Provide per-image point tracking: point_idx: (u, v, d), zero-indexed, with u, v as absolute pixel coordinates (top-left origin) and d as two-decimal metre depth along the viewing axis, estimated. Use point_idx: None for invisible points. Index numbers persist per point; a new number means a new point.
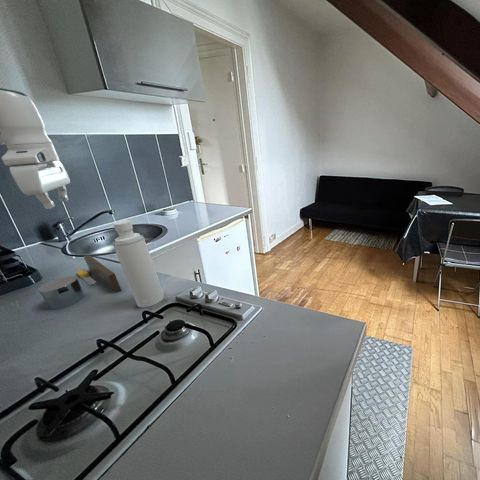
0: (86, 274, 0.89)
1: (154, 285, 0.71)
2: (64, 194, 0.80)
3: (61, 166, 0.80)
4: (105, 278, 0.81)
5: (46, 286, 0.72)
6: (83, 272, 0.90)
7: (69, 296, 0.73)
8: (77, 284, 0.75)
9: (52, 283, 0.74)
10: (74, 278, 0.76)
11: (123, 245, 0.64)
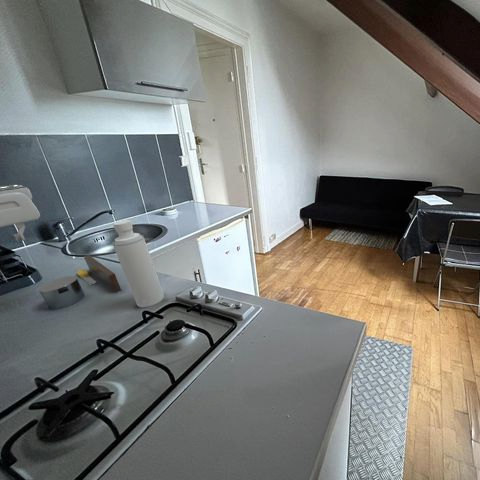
0: (86, 274, 0.89)
1: (154, 285, 0.71)
2: (18, 233, 0.66)
3: (18, 200, 0.65)
4: (105, 278, 0.81)
5: (46, 286, 0.72)
6: (83, 272, 0.90)
7: (69, 296, 0.73)
8: (77, 284, 0.75)
9: (52, 283, 0.74)
10: (74, 278, 0.76)
11: (123, 245, 0.64)
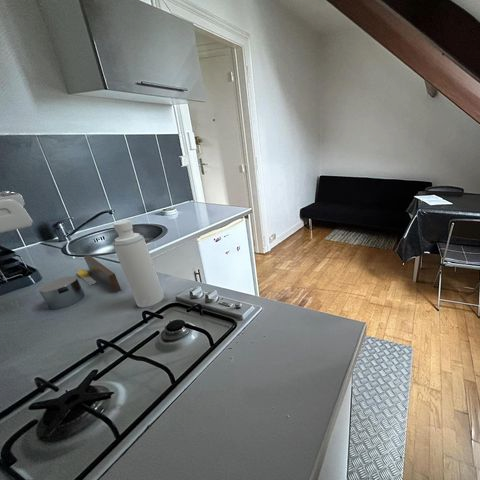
0: (86, 274, 0.89)
1: (154, 285, 0.71)
2: None
3: (10, 207, 0.63)
4: (105, 278, 0.81)
5: (46, 286, 0.72)
6: (83, 272, 0.90)
7: (69, 296, 0.73)
8: (77, 284, 0.75)
9: (52, 283, 0.74)
10: (74, 278, 0.76)
11: (123, 245, 0.64)
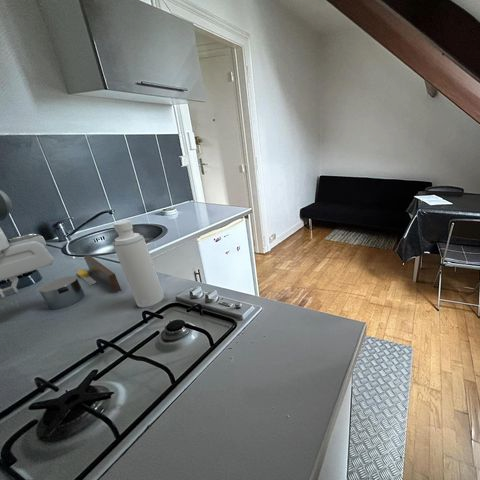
0: (86, 274, 0.89)
1: (154, 285, 0.71)
2: (11, 286, 0.66)
3: (33, 249, 0.67)
4: (105, 278, 0.81)
5: (46, 286, 0.72)
6: (83, 272, 0.90)
7: (69, 296, 0.73)
8: (77, 284, 0.75)
9: (52, 283, 0.74)
10: (74, 278, 0.76)
11: (123, 245, 0.64)
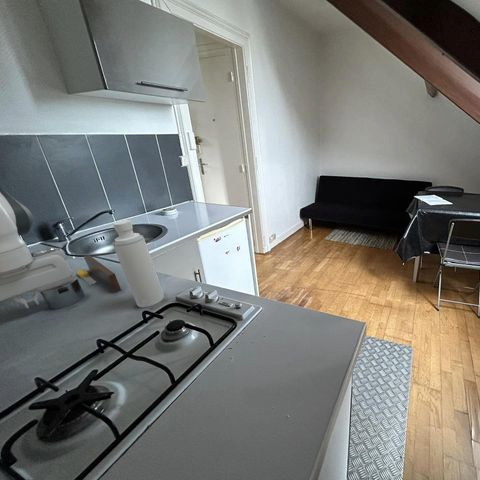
0: (86, 274, 0.89)
1: (154, 285, 0.71)
2: (33, 298, 0.70)
3: (55, 262, 0.71)
4: (105, 278, 0.81)
5: (46, 286, 0.72)
6: (83, 272, 0.90)
7: (69, 296, 0.73)
8: (77, 284, 0.75)
9: (52, 283, 0.74)
10: (74, 278, 0.76)
11: (123, 245, 0.64)
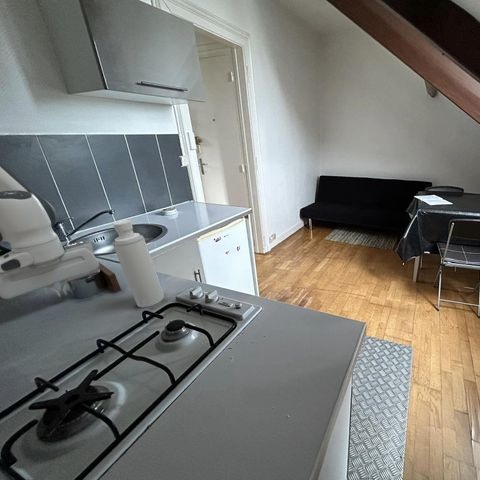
0: None
1: (154, 285, 0.71)
2: (62, 289, 0.74)
3: (83, 255, 0.75)
4: (105, 278, 0.81)
5: (73, 277, 0.76)
6: None
7: (95, 286, 0.78)
8: (101, 275, 0.80)
9: None
10: (98, 269, 0.80)
11: (123, 245, 0.64)
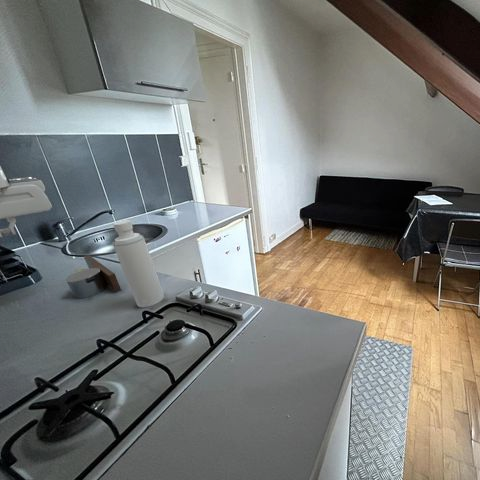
0: None
1: (154, 285, 0.71)
2: (9, 227, 0.67)
3: (32, 192, 0.68)
4: (105, 278, 0.81)
5: (73, 277, 0.76)
6: None
7: (95, 286, 0.78)
8: (101, 275, 0.80)
9: (77, 274, 0.78)
10: (98, 269, 0.80)
11: (123, 245, 0.64)
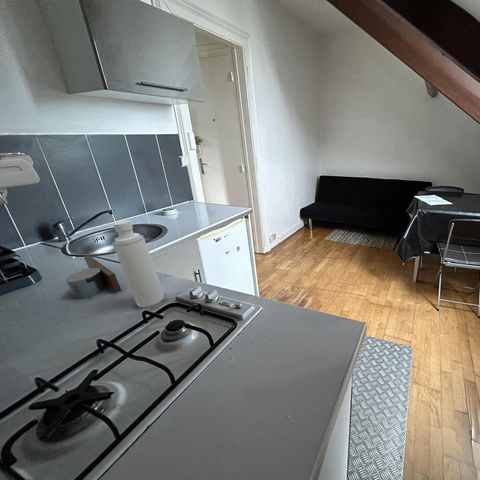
0: None
1: (154, 285, 0.71)
2: (1, 197, 0.75)
3: (21, 165, 0.76)
4: (105, 278, 0.81)
5: (73, 277, 0.76)
6: None
7: (95, 286, 0.78)
8: (101, 275, 0.80)
9: (77, 274, 0.78)
10: (98, 269, 0.80)
11: (123, 245, 0.64)
